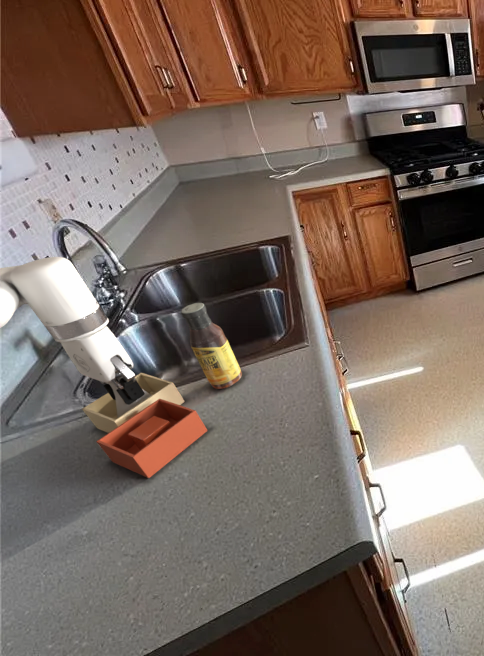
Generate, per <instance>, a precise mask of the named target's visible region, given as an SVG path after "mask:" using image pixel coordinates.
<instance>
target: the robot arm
mask: <svg viewBox="0 0 484 656" xmlns="http://www.w3.org/2000/svg"><path fill="white" fill-rule="evenodd" d="M23 305H28V306H29V308H30V309H31V310H32V312H33V313H34V314H35V315H36V317H37V318H38V319H39V321H40V322H41V324H42V325H43V326H44V328H45V329H46V331H48V334H50V336H51V337H52V338H53V340H55V342H57V343H60V345H61V346H62V348H63V350H64V351H65V353H66V354H67V357H68V358H69V359H70V361H71V362H72V363H73V365H74V368H76V370H77V372H79V374H81V376H84V377H87V378H90V379H93V380H96V381H99V382H100V384H102V385H103V388H104V389H105V390H106V392H107V393H109V394H110V396H111V397H112V399H114V400H116V398H115V394H114V392H113V389H112V387H111V386H110V385H109V384H106V383H105V382H110V381H112V382H113V383H114V384H115V386H116V387H117V388H118V389H117V390H116V391H117V392H118V394H119V395H120V397H121V398H122V399H123V401H124V402H125V404H127V405H130V404H131V403H133V402H134V401H136V400H137V399H139V398H140V397H142V396H144V394H145V393H144V391H143V390H142V388H141V387H140V385H139V384H138V382H137V381H136V379H135V377H136V376H137V375H136V374H135V373H134V372H133V370H132V369H134V366H135V364H134V362H133V360H132V358H131V357H130V355H129V354H128V352H127V351H126V349H125V348H124V346H123V345H122V344H121V342H120V341H119V339H118V338H117V337H116V336H115V334H114V333H113V332H112V331H111V329H110V328H109V327H108V324H109V322H110V320H109V318H108V317H107V315H106V313H105V312H104V310H103V308H102V307H101V305H100V304H99V302H98V301H97V299H96V298H95V297H94V295H93V293H92V291H91V290H90V288H89V287H88V285H87V284H86V282H85V281H84V279H83V278H82V276H81V274H80V273H79V272H78V270H77V269H76V267H75V266H74V264H73V262H71V260H69V259H68V258H66V257H62V256H50V257H44V258H39V259H35V260H31V261H29V262H26V263H24V264H20V265H13V266H5V267H0V329H1V328H3V327H4V326H5V325H7V324H8V322H9V321H11V319H12V317H13V315H14V314H15V313H16V310H19V308H21V307H22V306H23ZM121 375H122V376H123V377H122V378H121V379H120V382H119V380H118V379H117V378H118V377H120V376H121Z"/></svg>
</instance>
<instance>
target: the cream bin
mask: <svg viewBox="0 0 484 656" xmlns="http://www.w3.org/2000/svg"><path fill="white" fill-rule="evenodd" d="M135 379H136V381H137V382H138V384H139V385H140V387H141V388H142V389H143V390H144V391H146V392H148V393H150V394H152V396H150V397H149V398H147V399H146V400H144V401H143V402H141V403H140V404H138V405H137V406H135V407H134V408H132V409H131V410H129V411H128V412H126V413H125V414H123V415H122V416H120V417H119V418H117V407H116V400H114V399H112V397H111V396H110V394H109V393H108V392H107V393H106V394H104V395H102V396H101V397H99V398H97V399H96V400H94V401H92V402H91V403H89V404H88V405H86V406H84V407H82V408H81V410H82V411H83V413H84V414H85V415H86V416H87V418H88V419H89V420H90V421H91V422H92V424H93V425H94V427H95V428H96V429H98V430H99V431H102V432H105V433H107V434H108V433H109V432H111V431H112V430H114V429H115V428H117V427H118V426H120V425H121V424H123V423H124V422H126V421H127V420H129V419H130V418H132V417H133V416H135V415H136V414H137V413H139V412H140V411H142V410H143V409H145V408H146V407H148V406H149V405H151V404H152V403H154V402H155V401H157V400H158V399H163V400H166V401H169V402H172V403H175V404H178V405H181V406H182V404H184V403H185V399H184V397H183V396H182V395H181V393H180V392H179V389H178V388H177V387H176V385H175V384H174V382H173V381H170V380H167V379H163V378H161V377H157V376H153V375H150V374H147V373H145V372H140V373H138V374H137V375H136V377H135Z"/></svg>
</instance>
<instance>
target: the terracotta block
mask: <svg viewBox="0 0 484 656" xmlns="http://www.w3.org/2000/svg"><path fill="white" fill-rule="evenodd" d="M171 427H172V425H171V424H170V422H169V421H167V420H164V419H161V418H159V417H156V416H153V417H151V418H150V419H149V420H147V421H146V422H144V423H143V424H142V425H140V426H139V427H137V428H136V429H134V430H133V431H132V432H130V433H129V434H128V435H129V436H130V438H131V439H132V440H133V442H134V443H135V444H136V446H137V447H138V448H139V450H142V449H143V448H144V447H146V446H147V445H148V444H150V443H151V442H152V441H154V440H155V439H156V438H158V437H159V436H160V435H162V434H163V433H164V432H166V431H167V430H168V429H170V428H171Z"/></svg>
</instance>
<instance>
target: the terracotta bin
mask: <svg viewBox="0 0 484 656" xmlns="http://www.w3.org/2000/svg"><path fill="white" fill-rule="evenodd" d="M153 416H156V417H159V418H161V419H164V420H167V421H169V422H170V424H171V425H172V427H171V428H170V429H168V430H167V431H166V432H164V433H163V434H162V435H160V436H159V437H158V438H156V439H155V440H154V441H152V442H151V443H150V444H148V445H147V446H146V447H144V448H143V449H142V450H139V448H138V447H137V446H136V444H135V443H134V442H133V440H132V439H131V438H130V436H129V435H128V434H129V433H130V432H132V431H133V430H134V429H136V428H137V427H139V426H140V425H142V424H143V423H144V422H146V421H147V420H149V419H150V418H151V417H153ZM207 432H208V429H207V427H206V425H205V424H204V422H203V421H202V419H201V417H200V415H199V414H198V412H197V410H196V409H192V408H190V407H186V406H183V405H182V404H181V405H178V404H175V403H172V402H169V401H166V400H163V399H158V400H157V401H155V402H154V403H152V404H151V405H149V406H148V407H146V408H145V409H143V410H142V411H140V412H139V413H137V414H136V415H135V416H133V417H132V418H130V419H129V420H127V421H126V422H124V423H123V424H121V425H120V426H118V427H117V428H115V429H114V430H112V431H111V432H109V433H107V434H104V435H103V436H102V437H101V438H99V439H97V440H96V442H95V443H96V444H97V445H98V446H99V447H100V449H101V450H102V451H103V452H104V453H105V455H106V456H107V457H108V458H109V460H110V461H111V462H112V463H114V464H116V465H118V466H120V467H122V468H125V469H127V470H130V471H132V472H134V473H136V474H138V475H141V476H143V477H145V478H147V479H150V478H151V477H153V476H154V475H155V474H156V473H158V472H159V471H160V470H161V469H162V468H164V467H165V466H166V465H167V464H168V463H170V462H171V461H172V460H174V458H176V457H177V456H178V455H180V454H181V453H182V452H183V451H185V450H186V449H187V448H188V447H190V446H191V445H192V444H194V442H196V441H197V440H198V439H199V438H200V437H202V436H203V435H204V434H205V433H207Z"/></svg>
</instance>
